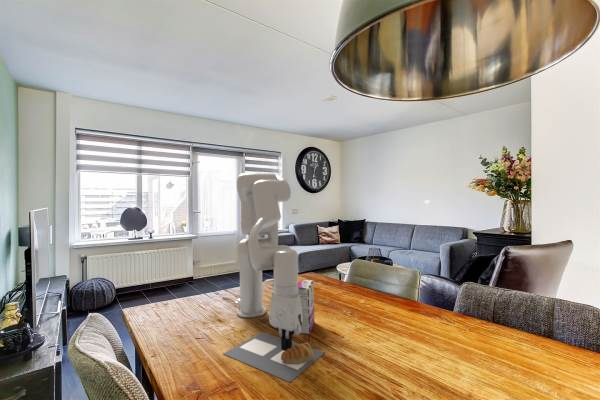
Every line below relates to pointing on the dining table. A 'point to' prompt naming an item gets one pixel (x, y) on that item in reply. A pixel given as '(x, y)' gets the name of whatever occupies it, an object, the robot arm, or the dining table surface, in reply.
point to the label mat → (269, 356)
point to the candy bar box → (307, 305)
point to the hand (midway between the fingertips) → (286, 348)
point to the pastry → (298, 354)
